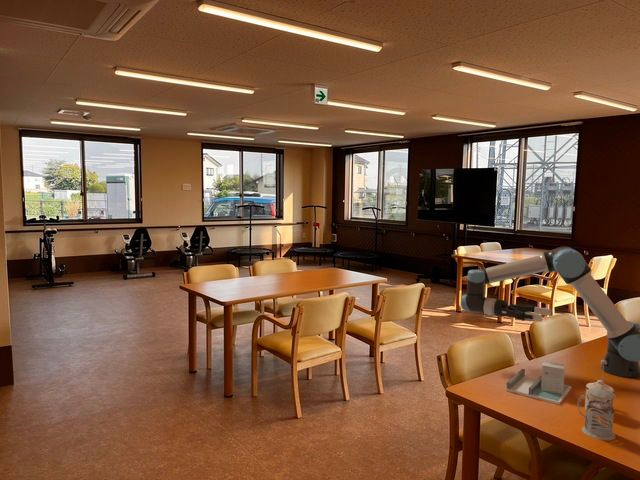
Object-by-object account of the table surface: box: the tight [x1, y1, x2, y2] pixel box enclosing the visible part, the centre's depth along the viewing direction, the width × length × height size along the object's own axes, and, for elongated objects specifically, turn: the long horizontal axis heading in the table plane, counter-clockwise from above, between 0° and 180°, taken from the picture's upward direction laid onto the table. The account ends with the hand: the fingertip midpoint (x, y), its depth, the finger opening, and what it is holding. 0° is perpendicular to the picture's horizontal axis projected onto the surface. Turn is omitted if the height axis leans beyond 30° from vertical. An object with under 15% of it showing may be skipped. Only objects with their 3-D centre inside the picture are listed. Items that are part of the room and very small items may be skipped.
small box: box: [541, 361, 566, 394], centre depth 192 cm, size 8×6×10 cm
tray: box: [506, 368, 572, 405], centre depth 195 cm, size 20×20×4 cm
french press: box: [576, 359, 617, 441], centre depth 160 cm, size 10×12×25 cm
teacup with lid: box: [584, 379, 615, 415], centre depth 177 cm, size 12×9×12 cm
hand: (546, 315), depth 205 cm, fingers open, 13 cm apart
